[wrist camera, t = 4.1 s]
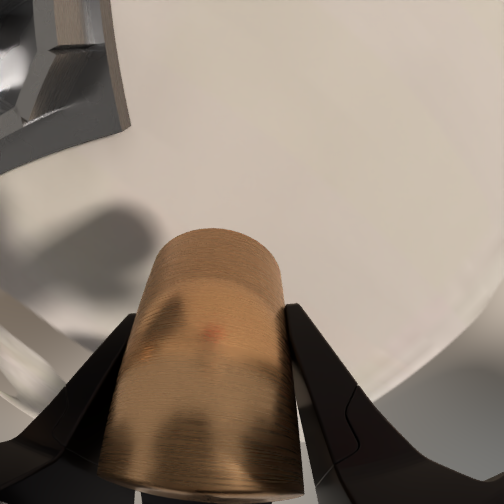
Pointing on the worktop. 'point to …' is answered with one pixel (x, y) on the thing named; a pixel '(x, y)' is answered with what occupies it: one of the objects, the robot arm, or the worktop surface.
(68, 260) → the worktop surface
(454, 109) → the worktop surface
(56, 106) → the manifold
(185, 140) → the worktop surface
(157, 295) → the brass peg
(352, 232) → the worktop surface
